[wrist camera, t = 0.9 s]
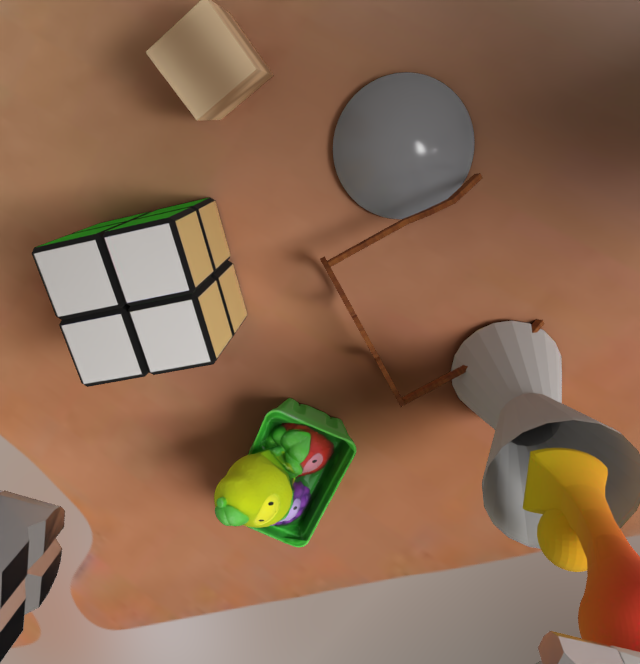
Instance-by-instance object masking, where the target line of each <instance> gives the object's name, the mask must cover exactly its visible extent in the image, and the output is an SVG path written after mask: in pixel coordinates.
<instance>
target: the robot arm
mask: <svg viewBox="0 0 640 664" xmlns="http://www.w3.org/2000/svg"><path fill="white" fill-rule="evenodd" d="M64 517H65V510H64V509H63V508H62V507H61V506H57V505H54V504H51V503H47V502H43V501H39V500H36V499H32V498H29V497H26V496H22V495H18V494H15V493H11V492H8V491H1V490H0V662H1V661H2V659H3V658H4V656H5V655H6V654H7V652H8V650H9V649H10V648H11V647H12V645H13V644H14V642H15V641H16V640H17V638H18V637H19V635H20V634H21V632H22V631H23V625H24V615H25V614H27V613H29V612H31V611H33V610H35V609H37V608H39V607H40V605H41V604H42V602H43V601H44V599H45V598H46V596H47V595H48V593H49V591H50V589H51V587H52V584H53V583H54V580H55V578H56V576H57V573H58V569H59V565H60V561H61V554H62V548H61V546H60V544H59V543H58V541H57V539H56V537H57V536H58V534H59V533H60V532H61V530H62V529H63V528H64V519H65V518H64ZM538 650H539V653H540V657H541V661H539V662H538V663H536V664H640V652H637V651H633V650H629V649H625V648H620V647H616V646H608V645H606V644H602V643H598V642H594V641H589V640H585V639H581V638H577V637H573V636H569V635H565V634H561V633H557V632H553V631H549V632H548V633H547V634H546V635H545V636H544V637H543V639H542V641H541V642H540V645H539V646H538Z"/></svg>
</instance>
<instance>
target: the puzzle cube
mask: <svg viewBox="0 0 640 664" xmlns="http://www.w3.org/2000/svg"><path fill="white" fill-rule="evenodd" d="M32 255H33V258H34V260H35V263H36V265H37V268H38V271H39V273H40V276H41V278H42V281H43V284H44V286H45V289H46V291H47V294H48V297H49V299H50V302H51V304H52V307H53V309H54V312H55V315H56V316H57V317H58V318H60V319H62V320H61V323H60V325H59V326H60V328H61V331H62V333H63V336H64V339H65V341H66V344H67V346H68V349H69V352H70V354H71V357H72V359H73V362H74V365H75V367H76V370H77V372H78V375H79V377H80V380H81V383H82V384H84V385H85V386H87V387H88V386H94V385H99V384H105V383H111V382H116V381H122V380H127V379H133V378H139V377H144V376H146V375H147V374H148V373H149V372H150V373H151V374H153V375H155V374H161V373H167V372H172V371H178V370H184V369H189V368H195V367H200V366H206V365H212V364H214V363H215V361H216V360H217V359H218V357H219V356H220V354H221V353H222V351H223V350H224V348H225V347H226V346H227V344H228V343H229V341H230V340H231V338H232V337H233V336H234V334H235V333H236V331H237V330H238V328H239V327H240V326H241V324H242V323H243V321H244V320H245V318H246V316H247V312H246V308H245V305H244V301H243V298H242V294H241V290H240V287H239V283H238V280H237V276H236V273H235V269H234V266H233V263H231V262H229V261H228V259H229V258H230V256H231V255H230V251H229V248H228V244H227V241H226V237H225V234H224V230H223V227H222V223H221V219H220V216H219V212H218V209H217V205H216V202H215V200H213V199H212V198H205V199H201V200H197V201H192V202H188V203H184V204H179V205H175V206H171V207H167V208H162V209H158V210H155V211H153V212H146V213H142V214H137V215H133V216H129V217H124V218H120V219H116V220H111V221H107V222H103V223H99V224H96V225H93V226H91V227H88V228H85V229H83V230H80V231H77V232H75V233H72V234H70V235H67V236H64V237H61V238H59V239H56V240H53V241H51V242H48V243H45V244H43V245H40V246H37V247H35V248H34V250H33V252H32Z"/></svg>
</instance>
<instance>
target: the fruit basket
mask: <svg viewBox="0 0 640 664" xmlns="http://www.w3.org/2000/svg"><path fill="white" fill-rule="evenodd" d="M355 454H356V446H355V444H354V442H353V441H352V439H351V438H350V437H349V435H348V433H347V431H346V429H345V426H344V424H343V422H342V420H341V419H338V418H333V417H332V418H330V416H329V415H327V414H326V413H324V412H322V411H319V410H317V409H315V408H313V407H310V406H308V405H304V404H299V403H298V402H296V401H295V400H294V399H291V398H288V399H287V400H286V401H284V402H283V403H282V404H281V405H280V406H278V407H277V408H275V409H273V410H271V411H269V412H268V413H267V414H266V415H265V418H264V420H263V422H262V424H261V427H260V429H259V431H258V434H257V436H256V438H255V440H254V442H253V445H252V447H251V449H250V451H249V453H248V455H247V456H244V457H242V458H240V459H239V460H237V461H236V462H235V463H234V464H233V465H232V466H231V468H230V469H229V470H228V472H227V474H226V476H225V477H224V478H222V480H221V481H220V482H219V483H218V485H217V487H216V490H215V494H214V502H215V507H216V508H215V514H216V517H217V518H218V520H219V521H220V522H221V523H222V524H224V525H227V526H241V525H245V526H247V527H249V528H251V529H254V530H256V531H258V532H260V533H263V534H265V535H268V536H270V537H272V538H275V539H277V540H280V541H282V542H284V543H286V544H289V545H292V546H295V547H303V546H305V545H307V544H308V542H309V540H310V538H311V536H312V535H313V533H314V531H315V529H316V527H317V525H318V523H319V521H320V519H321V517H322V515H323V514H324V512H325V510H326V508H327V506H328V504H329V502H330V500H331V499H332V497H333V495H334V493H335V491H336V489H337V487H338V486H339V484H340V482H341V480H342V478H343V476H344V474H345V473H346V471H347V469H348V467H349V465H350V463H351V462H352V460H353V458H354V456H355Z"/></svg>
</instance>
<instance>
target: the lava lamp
mask: <svg viewBox="0 0 640 664" xmlns="http://www.w3.org/2000/svg"><path fill="white" fill-rule="evenodd" d="M462 365H465V366H468V367H467V369H466V372H465V373H464V374H462V375H460V376H458V377H456V378H454V379H452V385H453V387H454V389H455V391H456V393H457V395H458V397H459V399H460V400H461V401H462V402H463V403H464V404H466V405H467V406H468V407H469V408H470V409H471V410H472V411H473V412H474V413H476V414H477V415H478V416H479V417H480V418H482V419H483V420H484V421H485V422H486V423H488V424H489V425H490V426H491V427H492V428H494V429H495V434H494V438H493V442H492V446H491V449H490V453H489V457H488V461H487V465H486V469H485V472H484V476H483V480H482V490H483V500H484V507H485V509H486V511H487V513H488V515H489V517H490V519H491V520H492V522H493V524H494V525H495V526H496V527H497V528H498V529H500V530H501V531H502V532H503V533H504V534H505V535H506V536H507V537H509V538H511V539H513V540H515V541H517V542H520V543H522V544H524V545H526V546H528V547H533V548H540V549H541V550H542V552H543V553H544V555H545V556H546V557H547V558H548V559H549V560H550V561H551V562H552V563H553V564H554V565H556V566H558V567H560V568H562V569H565V570H568V571H573V572H581V571H586V570H587V572H588V577H587V583H586V589H585V593H584V596H583V598H582V600H581V603H580V607H579V615H578V623H579V630H580V634H581V637H582V639H585V640H589V641H594V642H598V643H602V644H606V645H608V646H616V647H620V648H625V649H629V650H633V651H637V652H640V557H639V555H638V554H637V553H636V552H635V551H634V550H633V548H632V547H631V546H630V544H629V543H628V541H627V539H626V538H625V536H624V535H623V533H622V531H621V530H620V528H621V527H622V526H623V525H624V524H625V523H626V522H627V521H628V520H629V518H630V517H631V516H632V515H633V514H634V513H635V512H636V511H637V508H638V506H639V504H640V454H639V452H638V450H637V449H636V448H635V447H634V446H633V445H632V444H631V443H630V442H629V441H628V440H627V439H626V438H625V437H624V436H623V435H622V434H621V433H620V432H618V431H617V430H615V429H613V428H611V427H609V426H607V425H605V424H603V423H601V422H599V421H596V420H594V419H592V418H590V417H588V416H586V415H584V414H582V413H580V412H578V411H576V410H574V409H572V408H570V407H568V406H566V405H564V404H562V363H561V354H560V352H559V350H558V347H557V345H556V343H555V341H554V340H553V339H552V338H551V337H550V336H549V335H548V334H547V333H546V332H545V331H544V330H542V329H540V330H539V331H538V332H536V333H532V326H531V324H529V323H524V322H517V321H505V322H498V323H493V324H490V325H488V326H486V327H483V328H481V329H479V330H477V331H476V332H474V333H473V334H472V335H471V336H470V337H468V338H467V339H466V340H465V341H464V342H463V343H462V345H461V346H460V348H459V349H458V351H457V353H456V354H455V356H454V360H453V364H452V368H451V371H453V370H455V369H456V368H458V367H460V366H462Z"/></svg>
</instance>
